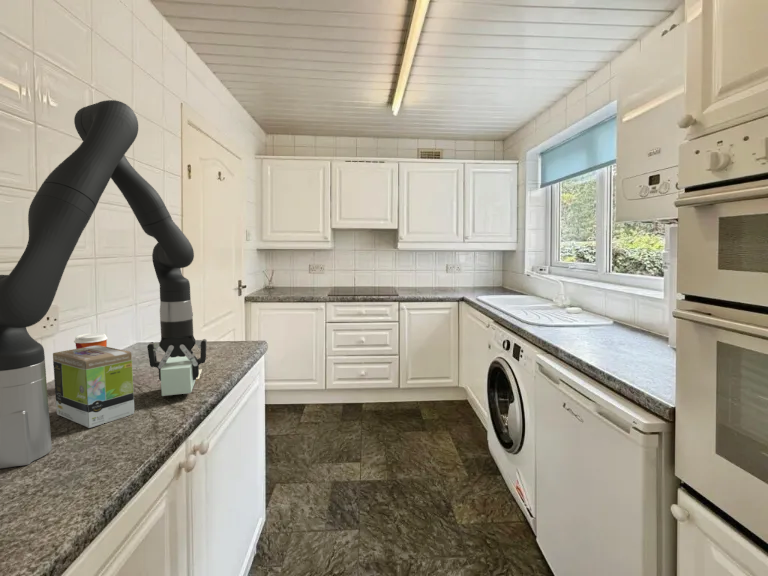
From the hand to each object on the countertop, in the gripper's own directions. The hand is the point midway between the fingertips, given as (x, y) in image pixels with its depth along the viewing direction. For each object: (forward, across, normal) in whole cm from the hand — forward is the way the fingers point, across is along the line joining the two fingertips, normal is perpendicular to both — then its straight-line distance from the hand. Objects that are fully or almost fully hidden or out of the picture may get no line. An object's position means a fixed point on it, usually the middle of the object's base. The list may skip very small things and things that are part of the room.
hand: (179, 380), depth 110 cm
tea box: (+4, -16, -10) cm, 19 cm away
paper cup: (+4, -24, +14) cm, 28 cm away
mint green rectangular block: (+2, 0, 0) cm, 2 cm away
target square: (+3, 0, +16) cm, 16 cm away
